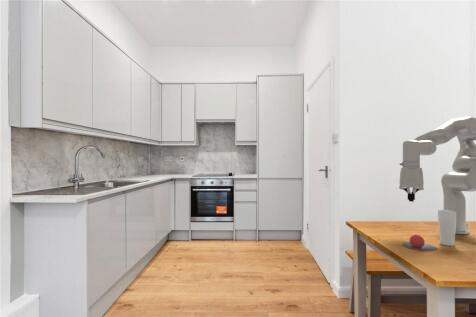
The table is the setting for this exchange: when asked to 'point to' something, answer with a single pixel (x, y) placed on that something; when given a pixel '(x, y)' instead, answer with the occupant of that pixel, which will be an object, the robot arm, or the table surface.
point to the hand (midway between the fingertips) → (411, 201)
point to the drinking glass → (447, 227)
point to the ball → (417, 241)
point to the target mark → (426, 247)
